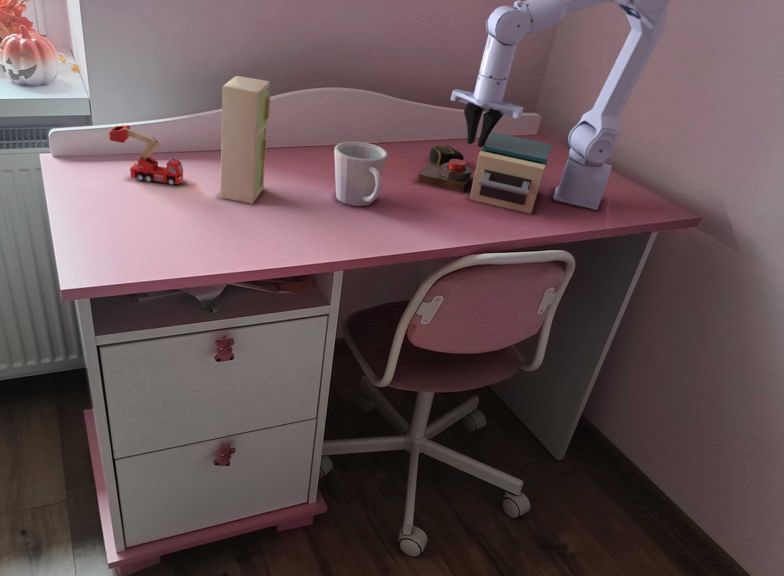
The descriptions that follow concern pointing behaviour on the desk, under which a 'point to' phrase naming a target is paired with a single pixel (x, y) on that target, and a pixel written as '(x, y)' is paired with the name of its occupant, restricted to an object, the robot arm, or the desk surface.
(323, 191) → the desk surface
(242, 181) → the toy refrigerator
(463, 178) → the timer block
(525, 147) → the toy oven
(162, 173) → the toy fire truck
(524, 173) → the oven door
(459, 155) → the tape measure
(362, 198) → the mug
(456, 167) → the button
